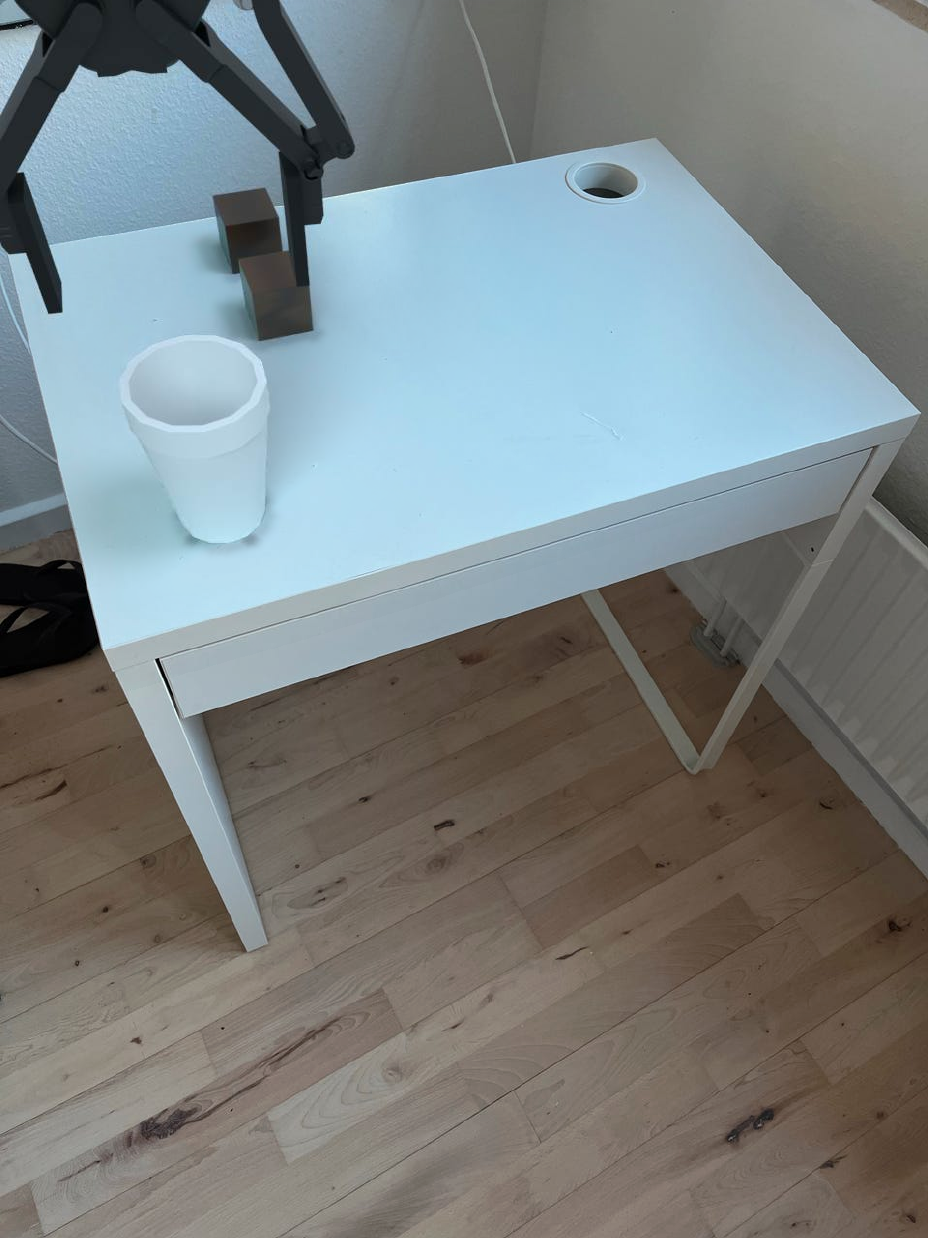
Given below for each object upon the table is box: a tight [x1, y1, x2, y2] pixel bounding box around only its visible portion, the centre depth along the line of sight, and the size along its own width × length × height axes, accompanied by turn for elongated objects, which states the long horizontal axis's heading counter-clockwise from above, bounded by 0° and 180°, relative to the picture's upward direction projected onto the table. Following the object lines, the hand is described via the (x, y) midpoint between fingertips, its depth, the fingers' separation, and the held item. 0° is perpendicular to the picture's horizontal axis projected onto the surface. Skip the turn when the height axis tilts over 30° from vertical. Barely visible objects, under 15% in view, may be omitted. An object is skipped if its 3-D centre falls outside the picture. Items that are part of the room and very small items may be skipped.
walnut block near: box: [238, 249, 314, 341], centre depth 83 cm, size 5×5×5 cm
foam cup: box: [118, 334, 271, 544], centre depth 67 cm, size 10×9×13 cm
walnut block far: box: [212, 187, 284, 275], centre depth 88 cm, size 5×5×5 cm
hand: (180, 285), depth 53 cm, fingers open, 13 cm apart
